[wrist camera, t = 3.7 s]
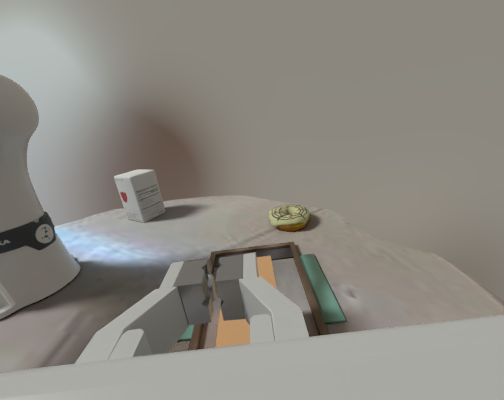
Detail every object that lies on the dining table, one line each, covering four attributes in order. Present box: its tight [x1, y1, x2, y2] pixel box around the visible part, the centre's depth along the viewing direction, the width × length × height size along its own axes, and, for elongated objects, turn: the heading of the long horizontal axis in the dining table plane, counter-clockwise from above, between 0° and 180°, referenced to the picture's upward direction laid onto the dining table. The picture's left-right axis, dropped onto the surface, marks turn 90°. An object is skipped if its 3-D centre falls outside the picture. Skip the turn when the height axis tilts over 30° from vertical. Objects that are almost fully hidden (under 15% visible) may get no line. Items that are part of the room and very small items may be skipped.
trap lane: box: [178, 242, 346, 351], centre depth 34 cm, size 24×37×1 cm, turn 2°
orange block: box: [216, 256, 277, 347], centre depth 27 cm, size 6×14×10 cm, turn 2°
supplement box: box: [114, 169, 165, 223], centre depth 77 cm, size 9×9×15 cm
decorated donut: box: [269, 204, 310, 231], centre depth 61 cm, size 10×11×4 cm
